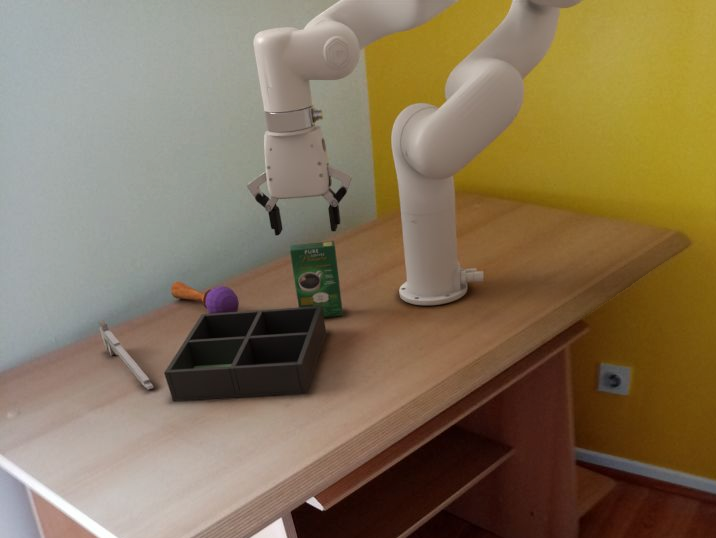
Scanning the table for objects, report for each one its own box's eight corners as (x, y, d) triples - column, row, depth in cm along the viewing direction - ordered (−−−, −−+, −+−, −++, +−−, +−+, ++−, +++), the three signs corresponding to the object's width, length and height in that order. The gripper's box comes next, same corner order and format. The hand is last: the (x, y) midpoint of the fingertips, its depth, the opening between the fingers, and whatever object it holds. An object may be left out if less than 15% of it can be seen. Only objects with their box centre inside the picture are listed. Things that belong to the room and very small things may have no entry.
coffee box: (344, 309, 140) (334, 238, 132) (344, 316, 137) (334, 243, 130) (301, 315, 140) (288, 244, 132) (300, 321, 138) (287, 249, 130)
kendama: (189, 272, 153) (242, 286, 139) (193, 302, 156) (246, 318, 142) (162, 276, 150) (214, 291, 136) (166, 307, 152) (218, 324, 139)
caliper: (107, 352, 136) (95, 319, 132) (112, 350, 137) (101, 317, 133) (148, 391, 122) (136, 356, 118) (155, 389, 123) (143, 353, 119)
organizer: (326, 332, 133) (321, 305, 130) (307, 393, 116) (301, 364, 113) (208, 340, 135) (201, 314, 132) (172, 401, 119) (163, 372, 116)
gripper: (347, 111, 121) (359, 220, 131) (242, 120, 123) (261, 227, 133) (341, 121, 115) (354, 234, 125) (231, 130, 117) (252, 241, 127)
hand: (306, 230), depth 129 cm, fingers open, 9 cm apart
